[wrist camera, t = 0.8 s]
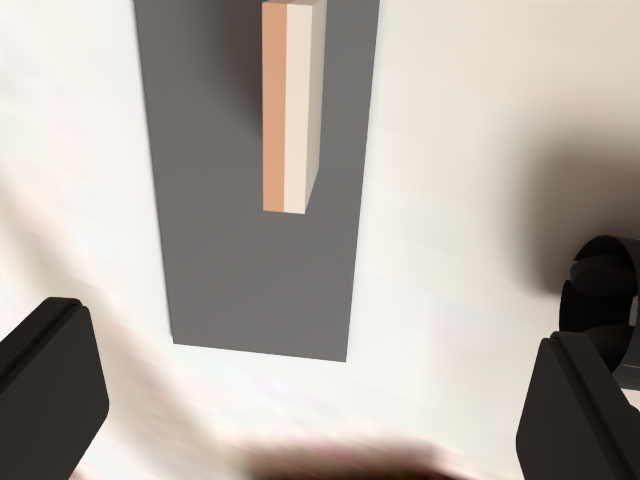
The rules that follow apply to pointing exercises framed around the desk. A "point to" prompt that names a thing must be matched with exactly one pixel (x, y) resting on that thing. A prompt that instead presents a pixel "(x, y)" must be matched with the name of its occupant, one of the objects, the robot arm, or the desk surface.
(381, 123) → the desk surface
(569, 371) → the robot arm
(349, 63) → the mat
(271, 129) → the block
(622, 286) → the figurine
